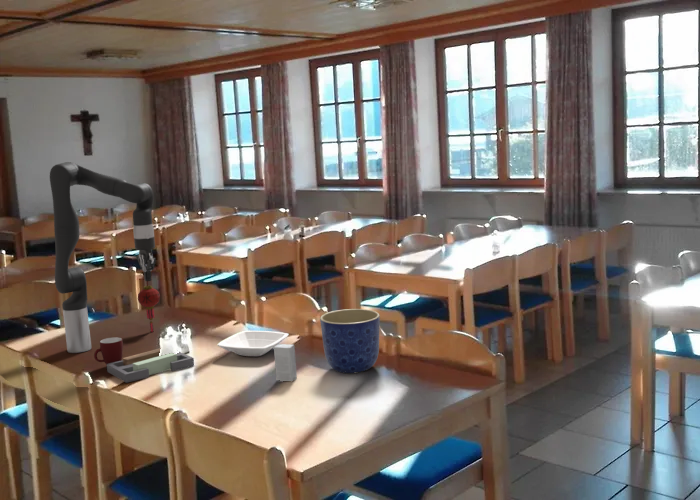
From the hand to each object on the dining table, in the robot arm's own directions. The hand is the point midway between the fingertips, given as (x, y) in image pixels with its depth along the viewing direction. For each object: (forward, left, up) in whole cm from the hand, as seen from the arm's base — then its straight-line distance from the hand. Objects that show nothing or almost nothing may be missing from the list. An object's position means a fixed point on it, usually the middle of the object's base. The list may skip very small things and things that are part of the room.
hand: (148, 280), depth 315 cm
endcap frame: (+18, -10, -29) cm, 35 cm away
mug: (+5, -20, -29) cm, 35 cm away
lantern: (-32, +13, -29) cm, 45 cm away
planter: (+73, +41, -29) cm, 89 cm away
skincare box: (+66, +18, -29) cm, 74 cm away
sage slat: (+23, -10, -29) cm, 38 cm away
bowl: (+30, +27, -29) cm, 50 cm away
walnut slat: (+14, -10, -29) cm, 34 cm away
